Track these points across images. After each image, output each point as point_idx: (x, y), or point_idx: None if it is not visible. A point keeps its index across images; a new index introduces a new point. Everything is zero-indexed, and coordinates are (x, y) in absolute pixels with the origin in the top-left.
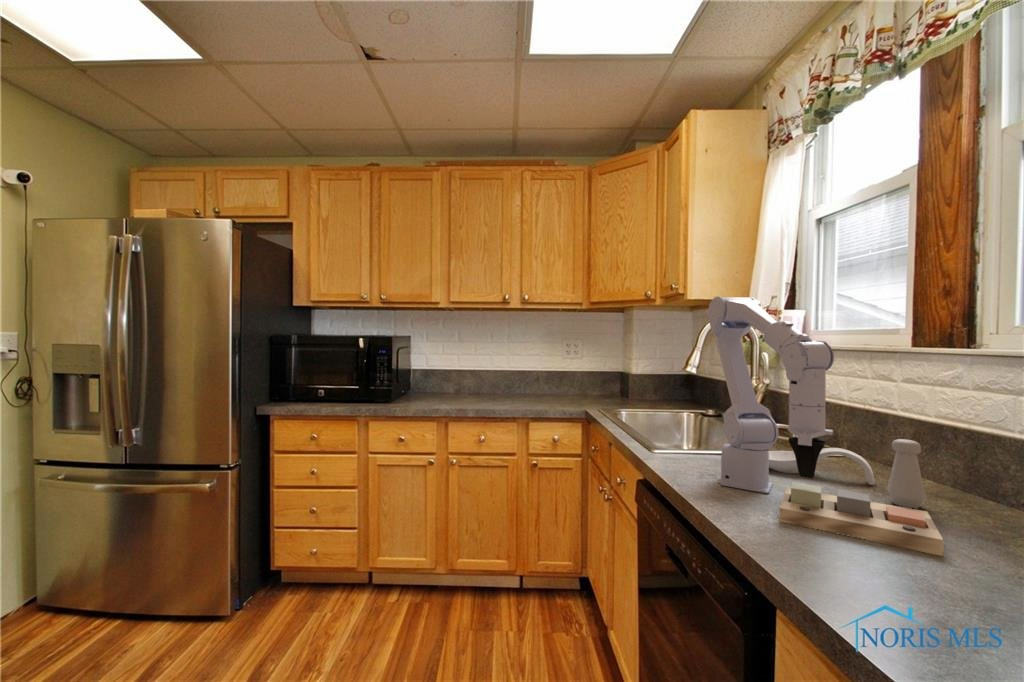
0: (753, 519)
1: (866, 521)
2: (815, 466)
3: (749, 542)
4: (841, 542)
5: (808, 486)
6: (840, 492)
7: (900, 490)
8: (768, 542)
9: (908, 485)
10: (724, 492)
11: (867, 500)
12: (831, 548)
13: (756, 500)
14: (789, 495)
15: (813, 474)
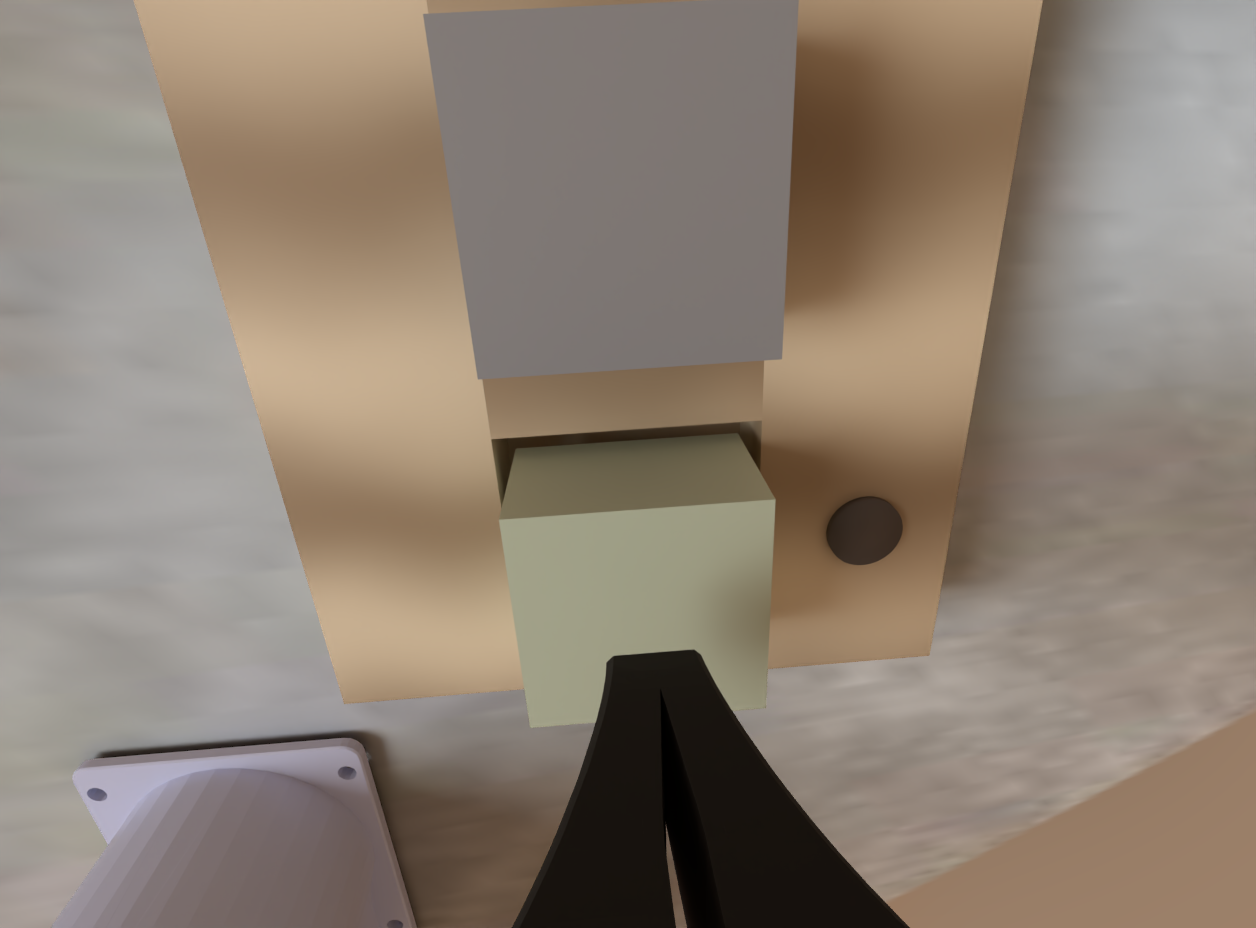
0: (924, 698)
1: (928, 71)
2: (759, 759)
3: None
4: (1083, 249)
5: (591, 611)
6: (603, 338)
7: None
8: (1249, 583)
9: None
10: None
11: (760, 32)
12: (1219, 299)
13: (551, 752)
14: None
15: (709, 680)
